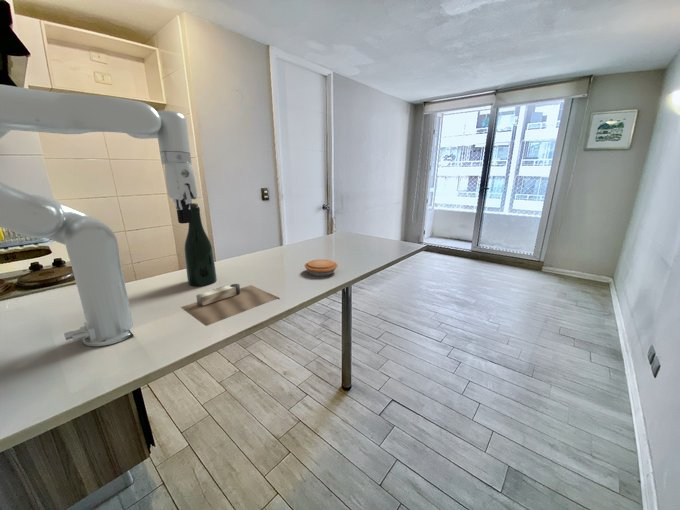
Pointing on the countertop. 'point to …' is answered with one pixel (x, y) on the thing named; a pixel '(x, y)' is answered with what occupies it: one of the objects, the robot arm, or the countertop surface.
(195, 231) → the green wine bottle
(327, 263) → the pie
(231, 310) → the brown wooden flat board
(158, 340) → the countertop surface
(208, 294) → the folding leg
